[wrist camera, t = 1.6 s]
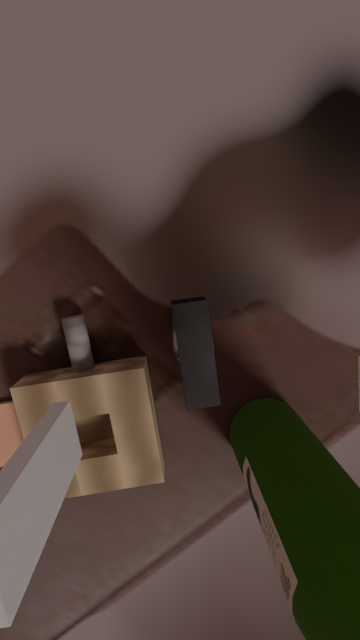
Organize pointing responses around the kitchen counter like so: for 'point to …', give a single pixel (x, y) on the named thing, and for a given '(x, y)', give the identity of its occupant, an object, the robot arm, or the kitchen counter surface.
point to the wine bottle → (303, 516)
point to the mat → (9, 431)
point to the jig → (99, 414)
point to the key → (195, 351)
